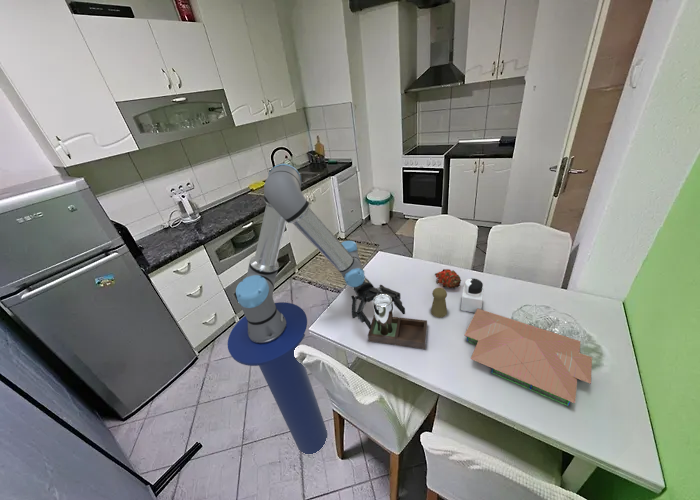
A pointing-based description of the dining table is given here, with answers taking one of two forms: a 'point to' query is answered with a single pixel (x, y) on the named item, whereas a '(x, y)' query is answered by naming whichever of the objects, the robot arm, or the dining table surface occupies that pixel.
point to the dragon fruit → (448, 278)
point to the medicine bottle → (472, 295)
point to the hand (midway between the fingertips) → (387, 318)
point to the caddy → (402, 333)
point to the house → (529, 354)
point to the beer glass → (383, 314)
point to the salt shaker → (439, 303)
